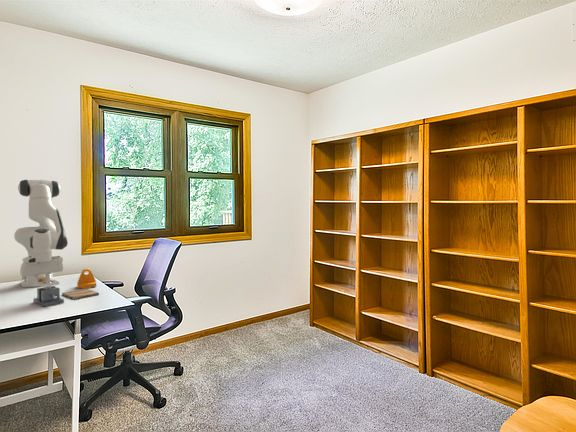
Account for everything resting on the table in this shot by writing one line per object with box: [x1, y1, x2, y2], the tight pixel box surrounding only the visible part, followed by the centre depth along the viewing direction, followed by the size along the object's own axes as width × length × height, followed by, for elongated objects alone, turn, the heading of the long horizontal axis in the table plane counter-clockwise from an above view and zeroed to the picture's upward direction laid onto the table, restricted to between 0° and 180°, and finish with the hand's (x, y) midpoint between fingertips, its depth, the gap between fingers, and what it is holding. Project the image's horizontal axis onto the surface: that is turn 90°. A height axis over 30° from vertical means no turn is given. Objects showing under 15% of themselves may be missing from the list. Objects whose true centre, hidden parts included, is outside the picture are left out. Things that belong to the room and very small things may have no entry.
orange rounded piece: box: [76, 267, 97, 290], centre depth 232 cm, size 11×7×12 cm, turn 121°
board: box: [61, 288, 100, 301], centre depth 213 cm, size 16×14×1 cm
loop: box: [37, 277, 60, 288], centre depth 198 cm, size 15×8×2 cm, turn 53°
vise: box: [32, 274, 65, 308], centre depth 195 cm, size 17×10×16 cm, turn 53°
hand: (42, 281), depth 201 cm, fingers closed on loop, 2 cm apart
